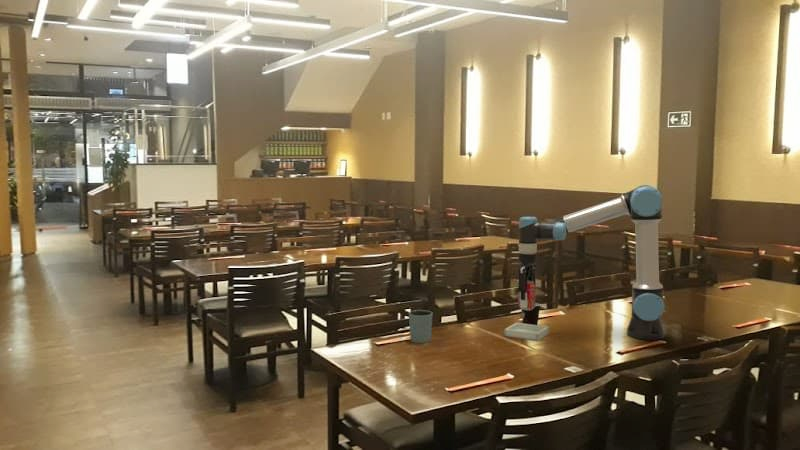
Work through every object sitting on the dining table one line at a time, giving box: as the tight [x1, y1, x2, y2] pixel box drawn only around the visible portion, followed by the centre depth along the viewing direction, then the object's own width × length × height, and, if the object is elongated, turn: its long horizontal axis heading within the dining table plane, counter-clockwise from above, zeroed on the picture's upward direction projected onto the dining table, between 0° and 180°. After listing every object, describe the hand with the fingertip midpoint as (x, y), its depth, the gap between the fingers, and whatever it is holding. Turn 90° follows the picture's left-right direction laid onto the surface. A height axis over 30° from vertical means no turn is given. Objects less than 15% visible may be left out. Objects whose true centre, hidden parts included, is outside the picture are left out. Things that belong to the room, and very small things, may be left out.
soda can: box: [518, 280, 536, 311], centre depth 279 cm, size 7×7×12 cm
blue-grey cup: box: [408, 309, 434, 344], centre depth 273 cm, size 10×10×12 cm
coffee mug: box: [520, 302, 541, 325], centre depth 298 cm, size 12×9×10 cm
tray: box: [503, 322, 550, 342], centre depth 281 cm, size 15×14×3 cm
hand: (526, 305), depth 280 cm, fingers closed on soda can, 7 cm apart
